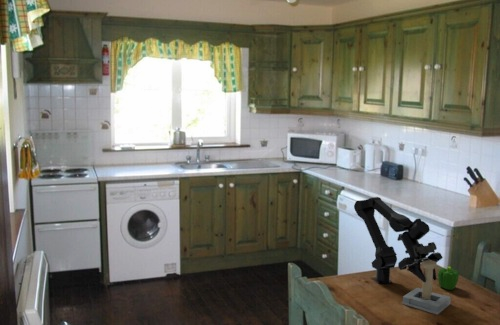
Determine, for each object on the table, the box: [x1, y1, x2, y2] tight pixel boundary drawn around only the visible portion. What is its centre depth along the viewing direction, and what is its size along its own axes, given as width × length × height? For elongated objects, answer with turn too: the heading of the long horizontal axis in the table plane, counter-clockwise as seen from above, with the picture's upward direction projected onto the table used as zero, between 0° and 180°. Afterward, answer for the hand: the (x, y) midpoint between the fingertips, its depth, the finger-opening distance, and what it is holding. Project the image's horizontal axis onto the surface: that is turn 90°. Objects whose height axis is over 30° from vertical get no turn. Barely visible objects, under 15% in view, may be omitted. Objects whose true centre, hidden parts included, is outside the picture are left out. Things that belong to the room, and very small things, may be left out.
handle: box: [420, 260, 438, 300], centre depth 199 cm, size 5×6×15 cm
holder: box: [402, 287, 452, 315], centre depth 200 cm, size 14×13×3 cm
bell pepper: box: [437, 265, 460, 291], centre depth 216 cm, size 8×8×10 cm
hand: (430, 280), depth 197 cm, fingers closed on handle, 5 cm apart
